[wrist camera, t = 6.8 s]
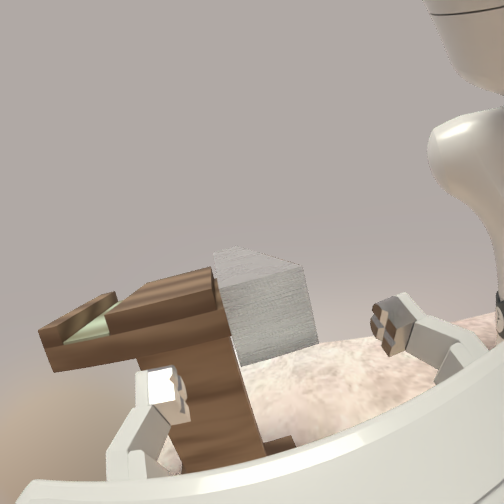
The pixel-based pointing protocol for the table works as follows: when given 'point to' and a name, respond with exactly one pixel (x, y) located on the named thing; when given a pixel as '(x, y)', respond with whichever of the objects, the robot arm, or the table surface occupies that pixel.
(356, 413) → the table surface
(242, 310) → the aluminium bar
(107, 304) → the walnut pedestal
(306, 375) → the table surface
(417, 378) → the table surface
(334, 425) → the table surface
